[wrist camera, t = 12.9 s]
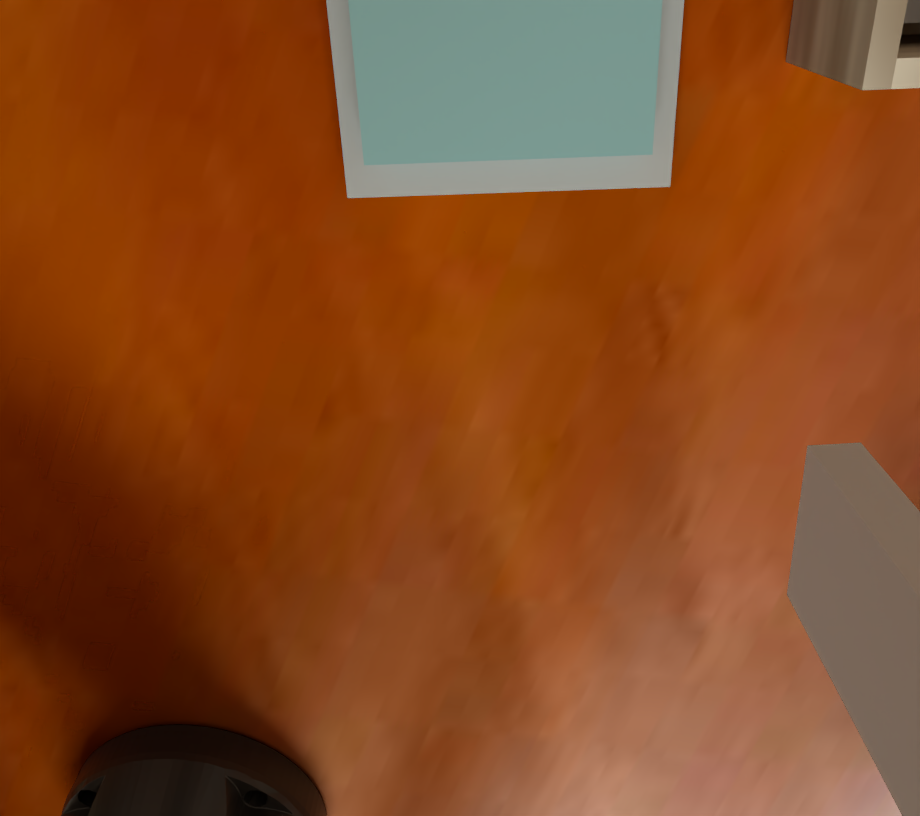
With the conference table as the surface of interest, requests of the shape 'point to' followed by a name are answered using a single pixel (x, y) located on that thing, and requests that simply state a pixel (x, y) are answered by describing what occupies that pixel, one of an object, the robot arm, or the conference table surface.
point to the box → (858, 41)
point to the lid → (505, 78)
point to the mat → (505, 172)
